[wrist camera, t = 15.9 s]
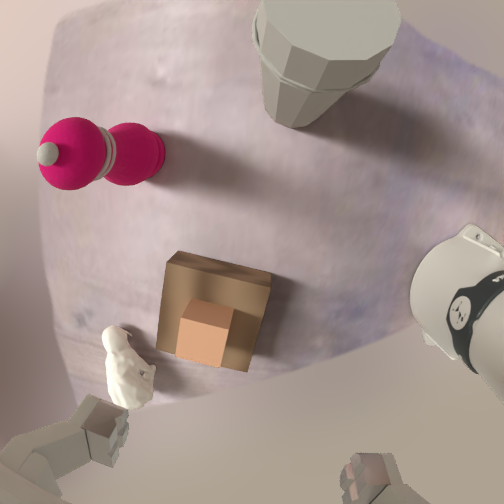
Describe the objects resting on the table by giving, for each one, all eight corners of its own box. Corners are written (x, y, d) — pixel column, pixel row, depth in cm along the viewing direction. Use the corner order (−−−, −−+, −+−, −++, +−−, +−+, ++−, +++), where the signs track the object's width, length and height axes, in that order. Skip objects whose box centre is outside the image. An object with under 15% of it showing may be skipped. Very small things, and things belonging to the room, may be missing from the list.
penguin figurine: (111, 417, 38) (74, 344, 37) (133, 387, 47) (103, 322, 45) (147, 415, 38) (109, 338, 36) (166, 383, 46) (136, 314, 44)
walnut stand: (271, 272, 40) (271, 287, 36) (249, 351, 44) (247, 372, 39) (178, 250, 40) (166, 262, 35) (166, 330, 44) (155, 348, 39)
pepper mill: (178, 168, 38) (94, 175, 18) (129, 192, 39) (26, 221, 19) (157, 116, 36) (63, 84, 17) (109, 142, 37) (0, 138, 18)
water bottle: (301, 143, 36) (358, 108, 12) (247, 104, 35) (209, 8, 11) (346, 88, 34) (448, -4, 10) (294, 49, 33) (323, -86, 9)
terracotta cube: (234, 308, 36) (228, 329, 32) (225, 344, 38) (219, 368, 33) (191, 297, 36) (180, 317, 32) (185, 334, 38) (175, 356, 33)
